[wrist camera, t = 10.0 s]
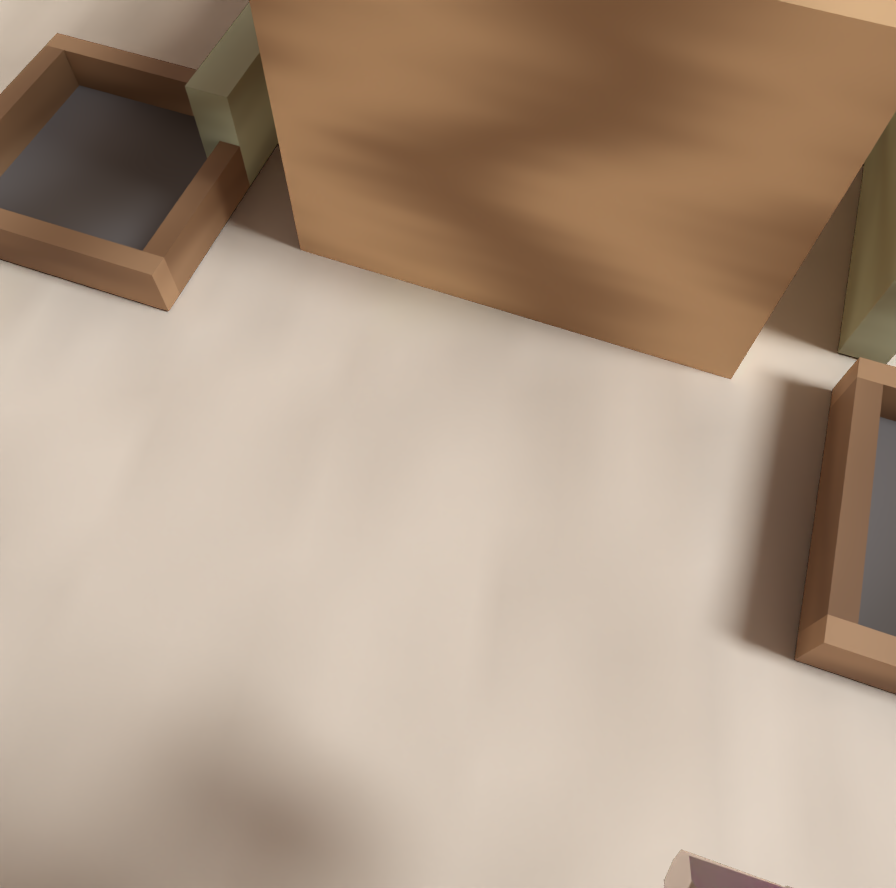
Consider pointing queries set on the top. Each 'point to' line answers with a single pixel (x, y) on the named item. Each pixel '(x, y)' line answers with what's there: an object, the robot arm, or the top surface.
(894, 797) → the top surface
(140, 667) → the top surface
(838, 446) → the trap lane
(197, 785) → the top surface
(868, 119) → the block
